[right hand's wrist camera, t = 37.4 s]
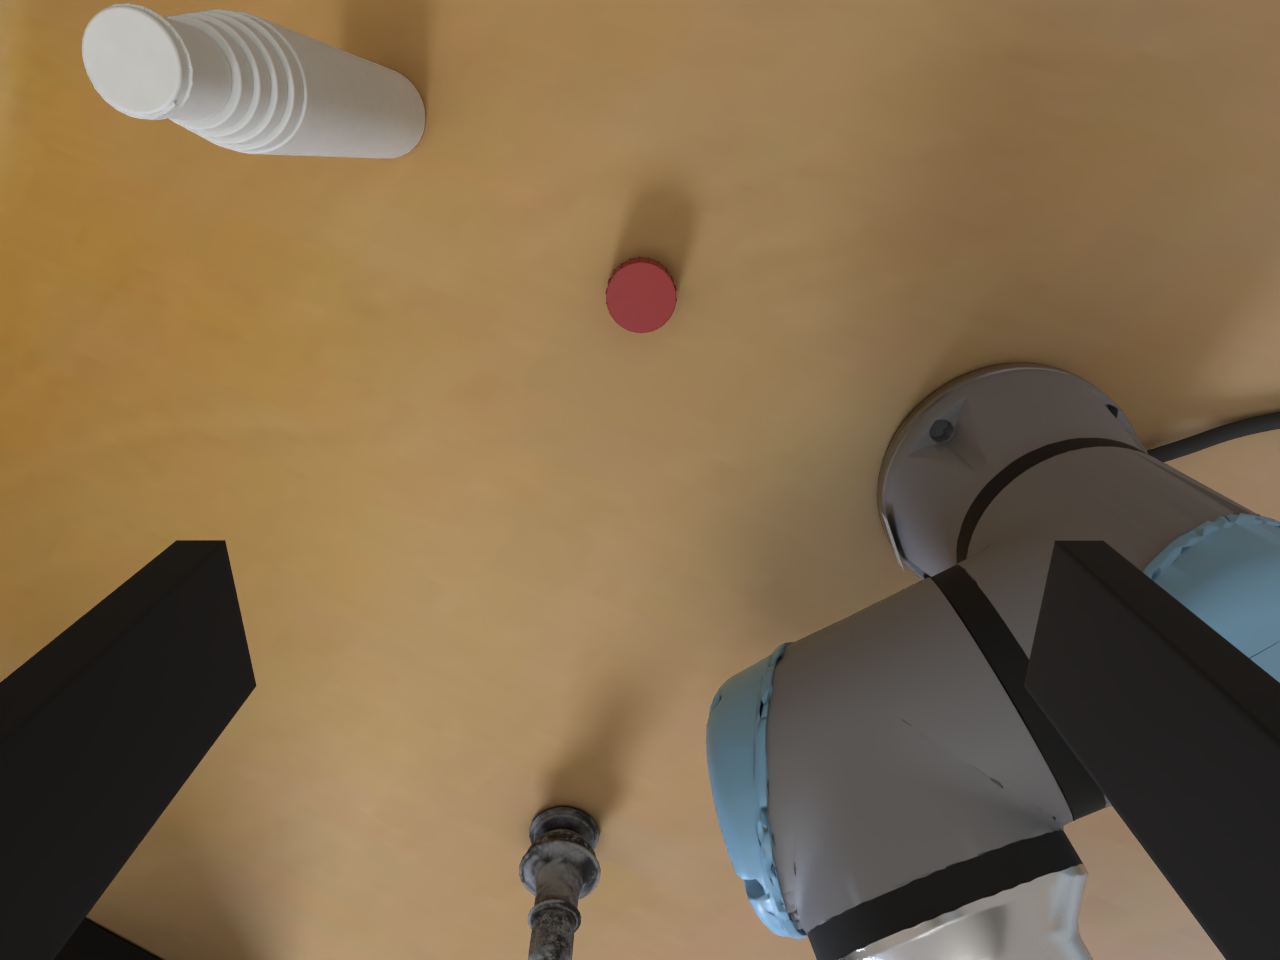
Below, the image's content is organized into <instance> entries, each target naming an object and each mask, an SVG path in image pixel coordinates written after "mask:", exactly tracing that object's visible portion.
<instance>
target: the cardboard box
mask: <svg viewBox="0 0 1280 960" xmlns="http://www.w3.org/2000/svg"><path fill="white" fill-rule="evenodd" d="M54 960H159V959H157V958H155V957H153V956H151V955H149V954H148V953H146V952H144V951H142V950H140V949H138V948H137V947H135V946H133V945H131V944H129V943H127V942H125V941H124V940H122V939H120V938H118V937H116V936H114V935H112V934H111V933H109V932H107V931H105V930H103V929H101V928H99V927H98V926H96V925H94V924H92V923H90V922H88V921H86V920H85V919H83V921H82V922H81V924H80V925H79V926H78V928H77V929H76V930H75V932H74V933H73V934H72V936H71V937H70V938H69V940H68V941H67V942H66V944H65V945H64V947H63V948H62V949H61V951H60V952H59V953H58V955H57V956H56V957H55V959H54Z"/></svg>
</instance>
